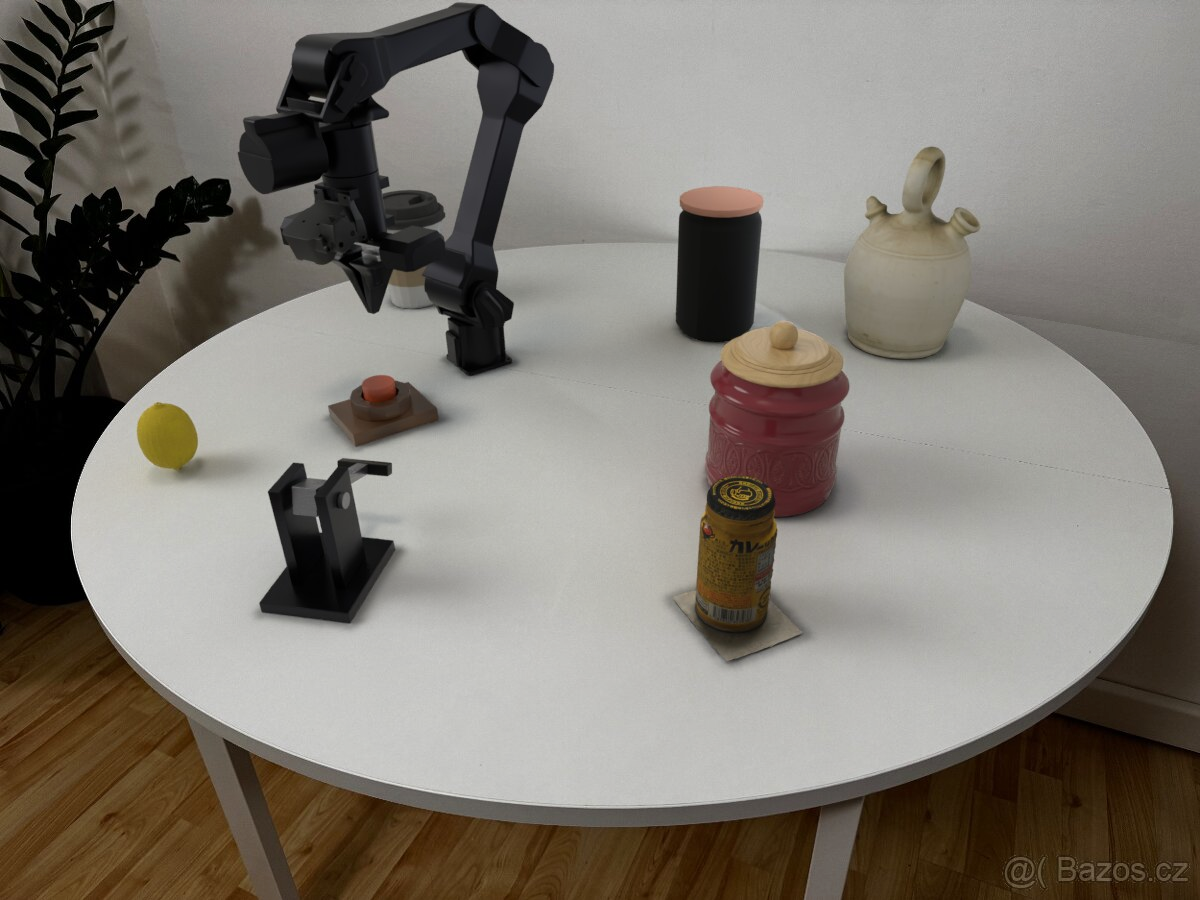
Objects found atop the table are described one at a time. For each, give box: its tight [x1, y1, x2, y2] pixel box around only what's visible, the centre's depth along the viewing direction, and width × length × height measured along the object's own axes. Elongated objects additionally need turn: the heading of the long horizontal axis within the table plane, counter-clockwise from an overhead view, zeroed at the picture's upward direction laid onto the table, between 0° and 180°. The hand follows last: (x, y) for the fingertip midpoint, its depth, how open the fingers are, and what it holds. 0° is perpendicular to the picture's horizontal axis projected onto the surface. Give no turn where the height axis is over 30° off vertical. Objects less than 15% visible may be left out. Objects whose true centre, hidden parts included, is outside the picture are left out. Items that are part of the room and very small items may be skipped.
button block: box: [327, 379, 440, 448], centre depth 102 cm, size 10×8×4 cm
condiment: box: [671, 476, 803, 662], centre depth 71 cm, size 7×8×12 cm
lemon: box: [136, 401, 199, 471], centre depth 93 cm, size 6×6×8 cm
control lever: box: [292, 457, 393, 518], centre depth 79 cm, size 12×5×2 cm, turn 169°
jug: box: [843, 146, 981, 360], centre depth 112 cm, size 15×16×25 cm
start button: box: [361, 374, 396, 402], centre depth 101 cm, size 4×4×2 cm
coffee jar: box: [675, 185, 764, 344], centre depth 118 cm, size 11×11×18 cm
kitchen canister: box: [704, 320, 850, 517], centre depth 86 cm, size 13×13×18 cm
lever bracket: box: [259, 462, 396, 624], centre depth 76 cm, size 10×8×11 cm
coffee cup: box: [382, 189, 446, 310], centre depth 129 cm, size 11×11×15 cm
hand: (373, 312), depth 99 cm, fingers closed
